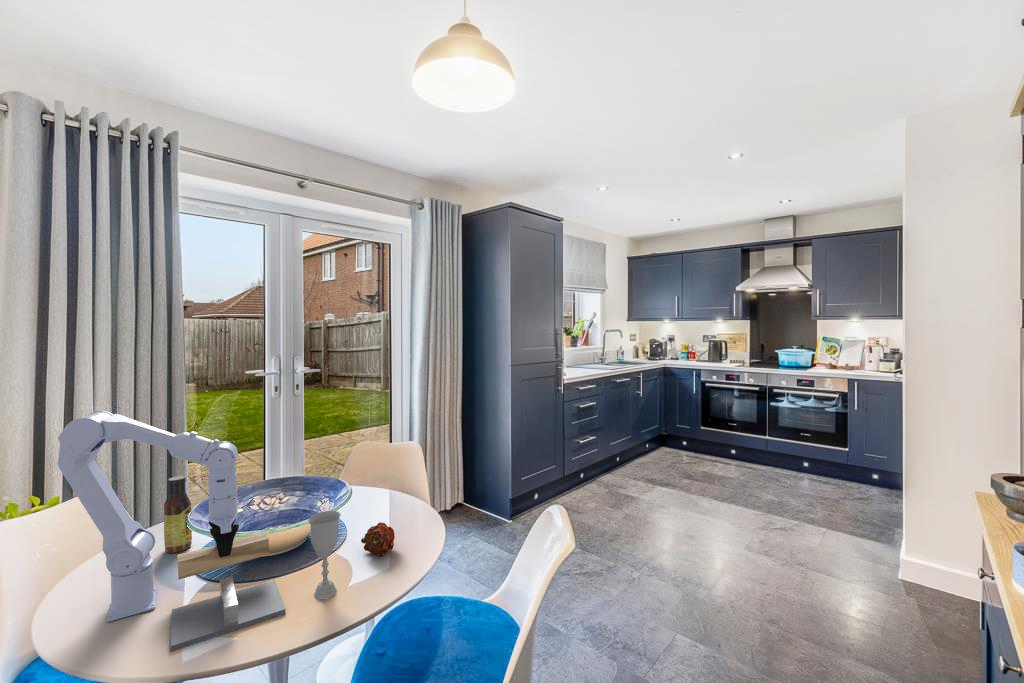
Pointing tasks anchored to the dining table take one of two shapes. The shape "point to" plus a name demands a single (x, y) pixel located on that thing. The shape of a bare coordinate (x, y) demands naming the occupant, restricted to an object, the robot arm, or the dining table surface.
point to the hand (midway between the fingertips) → (224, 551)
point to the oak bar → (210, 558)
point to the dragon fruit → (379, 539)
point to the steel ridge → (228, 601)
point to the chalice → (324, 547)
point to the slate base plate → (208, 617)
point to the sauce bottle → (177, 517)
